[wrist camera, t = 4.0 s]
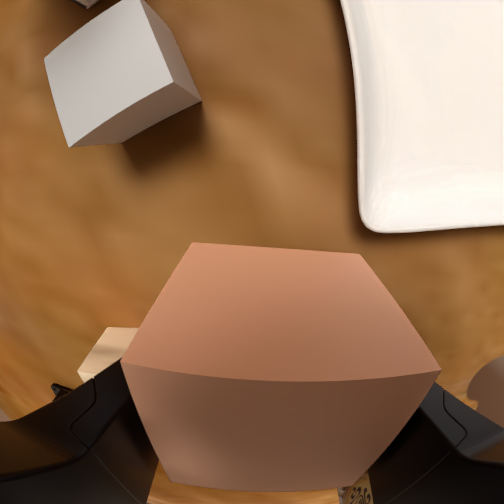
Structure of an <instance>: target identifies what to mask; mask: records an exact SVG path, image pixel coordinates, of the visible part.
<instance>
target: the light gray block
mask: <svg viewBox="0 0 504 504" xmlns="http://www.w3.org/2000/svg"><path fill="white" fill-rule="evenodd" d="M44 62H45V67H46V71H47V75H48V80H49V84H50V88H51V92H52V95H53V99H54V103H55V106H56V109H57V113H58V116H59V119H60V123H61V126H62V129H63V132H64V135H65V138H66V141H67V144H68V146H69V148H71V147H80V146H90V145H101V144H115V143H123V142H124V141H126V140H128V139H129V138H131V137H133V136H134V135H136V134H138V133H140V132H141V131H143V130H145V129H147V128H149V127H150V126H152V125H154V124H156V123H158V122H160V121H162V120H164V119H165V118H167V117H169V116H171V115H173V114H175V113H177V112H179V111H181V110H184V109H186V108H188V107H190V106H192V105H194V104H196V103H199V102H201V101H202V100H201V98H200V95H199V93H198V91H197V88H196V86H195V84H194V81H193V79H192V77H191V74H190V72H189V70H188V68H187V65H186V63H185V61H184V58H183V56H182V54H181V51H180V49H179V47H178V45H177V42H176V40H175V38H174V36H173V33H172V31H171V29H170V28H169V27H168V26H167V25H166V23H165V22H164V21H163V20H162V19H161V18H160V17H159V16H158V15H157V13H156V12H155V11H154V10H153V9H152V8H151V7H150V6H149V5H148V4H147V3H146V2H145V1H144V0H122V1H120V2H118V3H117V4H115V5H113V6H112V7H110V8H109V9H107V10H106V11H104V12H103V13H101V14H100V15H98V16H97V17H95V18H94V19H92V20H91V21H89V22H88V23H87V24H85V25H84V26H83V27H81V28H80V29H79V30H77V31H76V32H75V33H73V34H72V35H71V36H70V37H68V38H67V39H66V40H65V41H63V42H62V43H61V44H60V45H59V46H57V47H56V48H55V49H54V50H53V51H52V52H51V53H49V54H48V55H47V56H46V57H45V58H44Z"/></svg>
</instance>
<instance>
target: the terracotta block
mask: <svg viewBox="0 0 504 504" xmlns="http://www.w3.org/2000/svg"><path fill="white" fill-rule="evenodd" d="M120 363H121V366H122V369H123V372H124V375H125V378H126V381H127V384H128V387H129V390H130V393H131V395H132V398H133V401H134V403H135V406H136V408H137V411H138V414H139V416H140V418H141V421H142V423H143V426H144V428H145V430H146V433H147V435H148V437H149V439H150V442H151V444H152V446H153V448H154V450H155V452H156V454H157V456H158V458H159V460H160V462H161V464H162V466H163V468H164V470H165V472H166V474H167V476H168V478H169V480H170V482H175V483H180V484H186V485H192V486H198V487H206V488H214V489H223V490H235V491H252V492H293V491H310V490H322V489H331V488H339V487H346V486H352V485H353V484H354V483H355V482H356V481H357V480H358V479H359V478H360V477H361V476H362V475H363V474H364V473H365V472H366V471H367V469H368V468H369V467H370V466H371V465H372V464H373V463H374V462H375V461H376V460H377V459H378V458H379V456H380V455H381V454H382V453H383V452H384V451H385V449H386V448H387V447H388V446H389V445H390V444H391V442H392V441H393V440H394V439H395V437H396V436H397V435H398V434H399V432H400V431H401V430H402V428H403V427H404V426H405V425H406V423H407V422H408V421H409V419H410V418H411V416H412V415H413V414H414V412H415V411H416V409H417V408H418V406H419V405H420V404H421V402H422V401H423V399H424V398H425V396H426V395H427V393H428V391H429V390H430V388H431V387H432V385H433V383H434V382H435V380H436V379H437V377H438V375H439V373H440V372H441V370H442V369H441V368H440V366H439V365H438V363H437V361H436V360H435V358H434V357H433V355H432V354H431V352H430V350H429V349H428V347H427V346H426V344H425V343H424V341H423V340H422V338H421V337H420V335H419V334H418V332H417V331H416V329H415V328H414V327H413V325H412V324H411V322H410V321H409V319H408V318H407V316H406V315H405V314H404V312H403V311H402V309H401V308H400V307H399V305H398V304H397V303H396V301H395V300H394V298H393V297H392V296H391V294H390V293H389V292H388V290H387V289H386V288H385V286H384V285H383V284H382V282H381V281H380V280H379V278H378V277H377V276H376V274H375V273H374V272H373V271H372V269H371V268H370V267H369V265H368V264H367V263H366V262H365V260H364V259H363V258H362V257H361V255H360V254H352V253H339V252H325V251H311V250H297V249H282V248H268V247H253V246H239V245H224V244H208V243H193V242H192V244H191V245H190V247H189V248H188V250H187V251H186V253H185V254H184V256H183V258H182V259H181V261H180V262H179V264H178V265H177V267H176V268H175V270H174V272H173V273H172V275H171V276H170V278H169V280H168V281H167V283H166V284H165V286H164V288H163V289H162V291H161V292H160V294H159V296H158V297H157V299H156V301H155V302H154V304H153V306H152V307H151V309H150V311H149V312H148V314H147V316H146V317H145V319H144V321H143V322H142V324H141V326H140V327H139V329H138V331H137V333H136V334H135V336H134V338H133V340H132V341H131V343H130V345H129V347H128V348H127V350H126V352H125V354H124V355H123V357H122V359H121V361H120Z"/></svg>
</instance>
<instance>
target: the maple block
mask: <svg viewBox="0 0 504 504" xmlns="http://www.w3.org/2000/svg"><path fill="white" fill-rule="evenodd" d="M138 329H139V328H112V327H107V329H106V330H105V331H104V333H103V334H102V336H101V337H100V339H99V340H98V341H97V343H96V344H95V346H94V347H93V349H92V350H91V351H90V353H89V354H88V356H87V357H86V359H85V360H84V362H83V363H82V365H81V366H80V368H79V369H78V371H77V372H78V374H79V375H80V377H81V378H82V380H83V382H84V383H85V382H86V381H88V380H89V379H91V378H93V379H94V376H95V375H97V374H98V373H100V372H101V371H102V370H104V369H105V368H107V367H108V366H110V365H111V364H113V363H114V362H116V361H117V360H118V359H120V358H121V357H123V355H124V354H125V352H126V350H127V348H128V347H129V345H130V343H131V341H132V340H133V338H134V336H135V334H136V333H137V331H138Z"/></svg>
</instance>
